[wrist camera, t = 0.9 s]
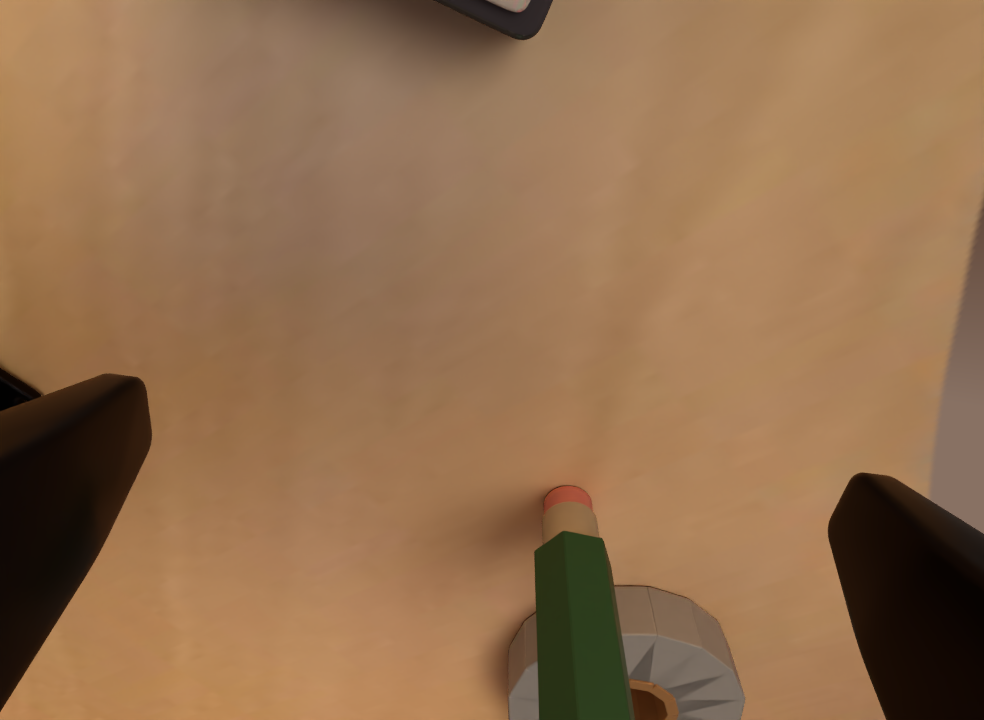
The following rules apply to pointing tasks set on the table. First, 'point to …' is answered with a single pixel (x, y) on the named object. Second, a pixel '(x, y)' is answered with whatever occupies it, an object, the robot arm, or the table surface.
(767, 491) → the table surface
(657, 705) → the tape
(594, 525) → the pencil
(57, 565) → the robot arm
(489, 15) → the calculator
